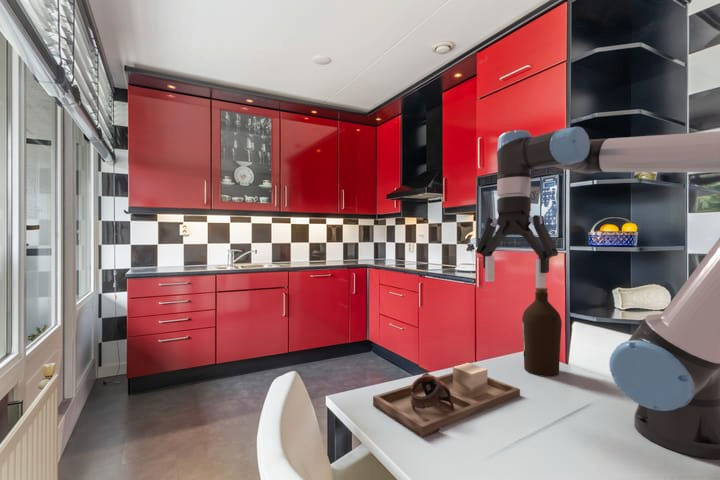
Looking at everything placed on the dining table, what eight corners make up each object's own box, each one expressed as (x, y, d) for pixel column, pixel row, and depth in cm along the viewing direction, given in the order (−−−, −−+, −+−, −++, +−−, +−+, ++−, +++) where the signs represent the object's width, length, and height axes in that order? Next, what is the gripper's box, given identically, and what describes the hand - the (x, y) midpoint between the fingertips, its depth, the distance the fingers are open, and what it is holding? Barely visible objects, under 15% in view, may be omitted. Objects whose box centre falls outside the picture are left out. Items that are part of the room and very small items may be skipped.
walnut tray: (519, 397, 91) (520, 389, 91) (422, 437, 73) (422, 426, 73) (465, 376, 105) (465, 368, 105) (373, 405, 87) (373, 396, 87)
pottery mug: (463, 417, 81) (449, 389, 78) (424, 435, 81) (410, 408, 79) (445, 383, 92) (433, 358, 90) (411, 399, 92) (398, 374, 90)
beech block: (487, 392, 92) (487, 369, 92) (471, 398, 89) (471, 374, 89) (468, 384, 97) (468, 362, 97) (453, 390, 94) (453, 367, 94)
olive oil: (566, 371, 109) (566, 288, 109) (554, 380, 102) (554, 291, 102) (529, 362, 117) (529, 284, 117) (516, 370, 109) (516, 288, 109)
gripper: (575, 192, 80) (575, 288, 80) (481, 202, 101) (481, 278, 101) (557, 190, 76) (556, 291, 76) (462, 200, 97) (462, 280, 97)
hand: (513, 284), depth 88 cm, fingers open, 13 cm apart
